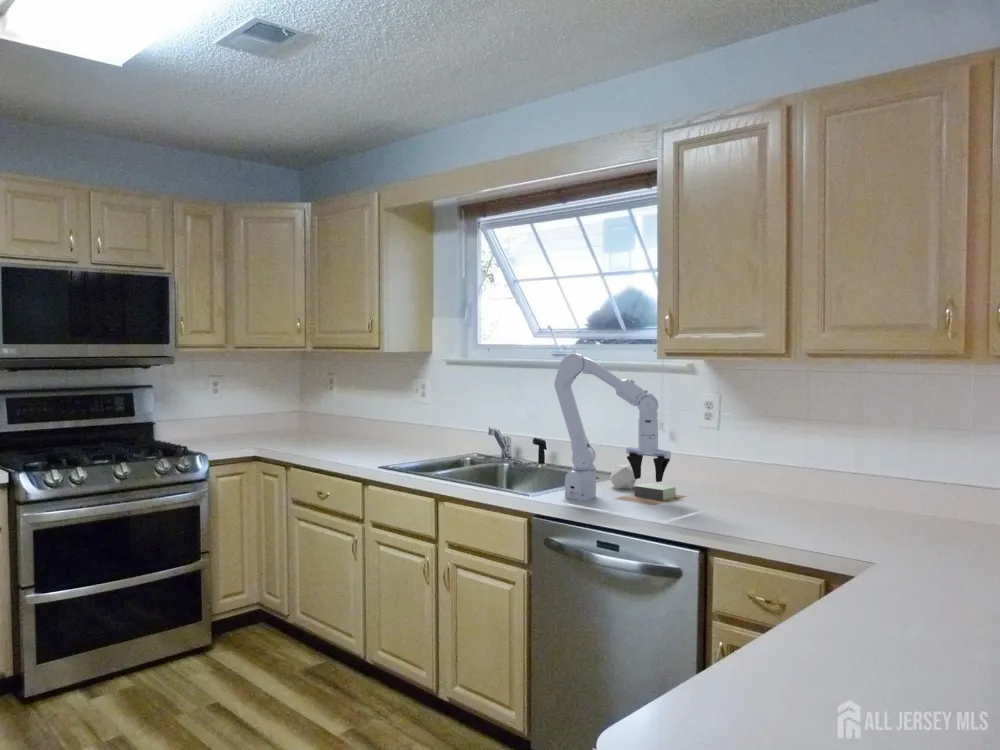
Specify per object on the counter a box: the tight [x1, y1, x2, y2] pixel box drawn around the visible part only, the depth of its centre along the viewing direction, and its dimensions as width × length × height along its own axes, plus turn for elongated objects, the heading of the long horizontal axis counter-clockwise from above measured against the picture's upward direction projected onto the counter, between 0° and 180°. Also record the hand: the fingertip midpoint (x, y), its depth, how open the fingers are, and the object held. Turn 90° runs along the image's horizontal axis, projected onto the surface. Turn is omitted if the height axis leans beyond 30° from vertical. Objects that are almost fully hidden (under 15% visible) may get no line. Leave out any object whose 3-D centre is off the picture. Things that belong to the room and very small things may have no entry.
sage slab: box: [633, 482, 677, 500], centre depth 232 cm, size 3×10×7 cm
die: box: [609, 464, 637, 490], centre depth 248 cm, size 8×9×10 cm
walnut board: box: [614, 493, 688, 506], centre depth 231 cm, size 18×14×1 cm
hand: (648, 480), depth 230 cm, fingers open, 7 cm apart
